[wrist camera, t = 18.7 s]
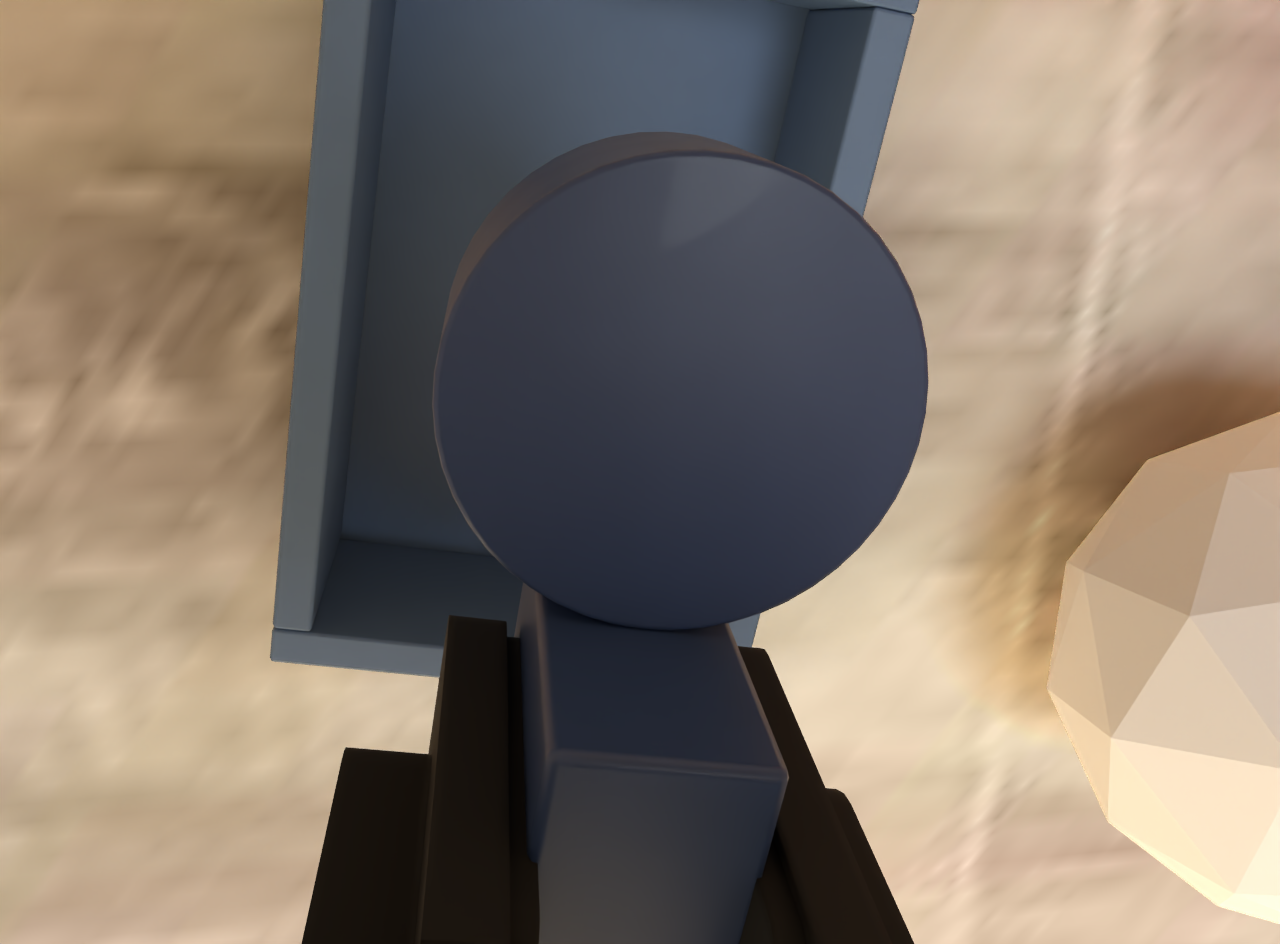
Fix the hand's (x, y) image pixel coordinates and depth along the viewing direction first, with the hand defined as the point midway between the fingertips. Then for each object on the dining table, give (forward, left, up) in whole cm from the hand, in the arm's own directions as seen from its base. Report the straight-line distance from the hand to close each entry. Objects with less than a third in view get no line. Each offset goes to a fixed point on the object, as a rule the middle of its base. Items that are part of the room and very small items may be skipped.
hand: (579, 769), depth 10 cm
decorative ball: (+1, +15, -11) cm, 19 cm away
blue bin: (-2, 0, -11) cm, 11 cm away
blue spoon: (-2, 0, 0) cm, 2 cm away
